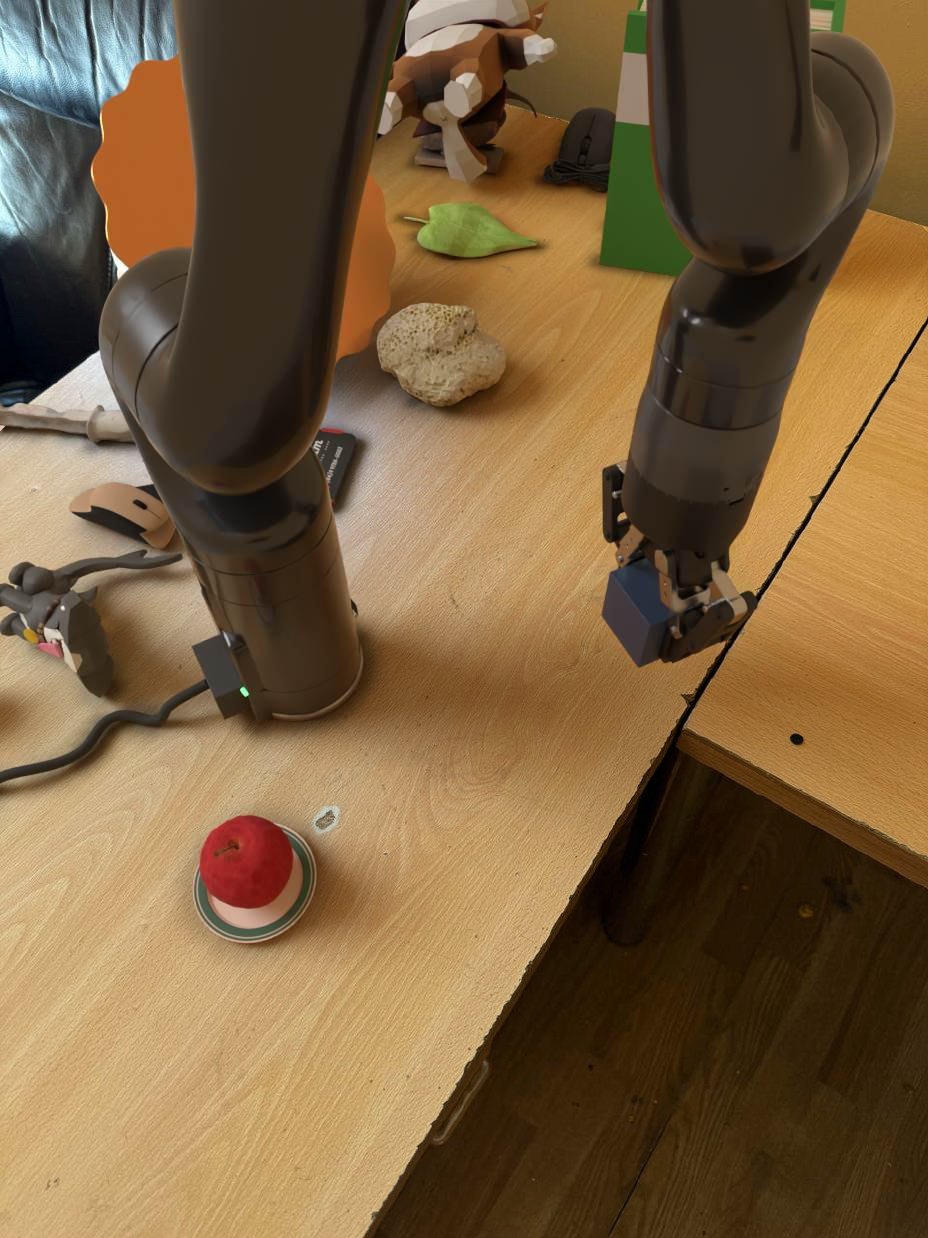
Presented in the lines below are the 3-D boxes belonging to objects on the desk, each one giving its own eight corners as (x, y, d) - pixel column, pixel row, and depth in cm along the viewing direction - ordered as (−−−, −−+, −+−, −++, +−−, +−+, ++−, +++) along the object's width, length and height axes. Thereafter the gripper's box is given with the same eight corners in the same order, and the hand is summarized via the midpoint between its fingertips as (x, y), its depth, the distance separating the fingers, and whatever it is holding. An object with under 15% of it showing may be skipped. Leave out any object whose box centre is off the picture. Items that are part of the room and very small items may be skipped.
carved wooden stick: (264, 437, 85) (257, 415, 83) (251, 468, 83) (244, 446, 81) (11, 406, 88) (-2, 384, 86) (-8, 435, 86) (-21, 413, 84)
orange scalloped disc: (358, 74, 89) (270, 160, 103) (55, 20, 71) (-1, 132, 85) (421, 369, 91) (327, 414, 105) (142, 386, 74) (74, 437, 88)
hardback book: (599, 264, 99) (627, 13, 80) (612, 224, 103) (642, -23, 84) (768, 289, 96) (841, 36, 77) (775, 248, 100) (846, -3, 81)
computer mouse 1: (112, 467, 83) (97, 433, 80) (207, 503, 80) (195, 470, 77) (64, 517, 80) (46, 484, 76) (161, 557, 77) (147, 525, 74)
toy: (288, 49, 93) (390, -22, 113) (351, 232, 105) (433, 138, 125) (510, -11, 84) (578, -77, 104) (552, 197, 96) (606, 102, 116)
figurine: (538, 157, 111) (542, 81, 104) (531, 178, 109) (534, 101, 102) (425, 144, 113) (421, 68, 106) (414, 164, 111) (410, 87, 104)
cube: (638, 668, 64) (650, 626, 60) (600, 615, 67) (609, 571, 63) (699, 642, 65) (715, 599, 61) (660, 590, 68) (672, 546, 64)
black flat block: (330, 510, 79) (273, 502, 80) (331, 515, 80) (275, 507, 80) (359, 432, 84) (306, 425, 85) (360, 438, 85) (307, 431, 86)
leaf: (418, 201, 106) (416, 185, 105) (546, 230, 102) (546, 213, 100) (383, 249, 102) (380, 233, 101) (515, 280, 98) (515, 264, 96)
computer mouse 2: (640, 128, 115) (644, 96, 112) (628, 195, 107) (632, 162, 103) (558, 122, 116) (560, 89, 113) (540, 187, 108) (541, 154, 105)
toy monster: (-88, 531, 62) (22, 571, 59) (112, 529, 79) (207, 560, 75) (-111, 734, 65) (-7, 784, 61) (86, 691, 81) (177, 728, 78)
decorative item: (356, 386, 82) (368, 282, 84) (384, 425, 91) (394, 330, 93) (491, 385, 80) (501, 278, 82) (507, 426, 88) (515, 328, 90)
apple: (170, 914, 60) (140, 879, 55) (236, 808, 64) (214, 765, 59) (278, 966, 58) (257, 934, 53) (339, 852, 62) (325, 812, 57)
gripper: (575, 390, 55) (553, 572, 68) (718, 561, 47) (661, 727, 61) (683, 353, 57) (641, 538, 70) (837, 512, 49) (756, 684, 63)
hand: (651, 625), depth 66 cm, fingers closed on cube, 5 cm apart
